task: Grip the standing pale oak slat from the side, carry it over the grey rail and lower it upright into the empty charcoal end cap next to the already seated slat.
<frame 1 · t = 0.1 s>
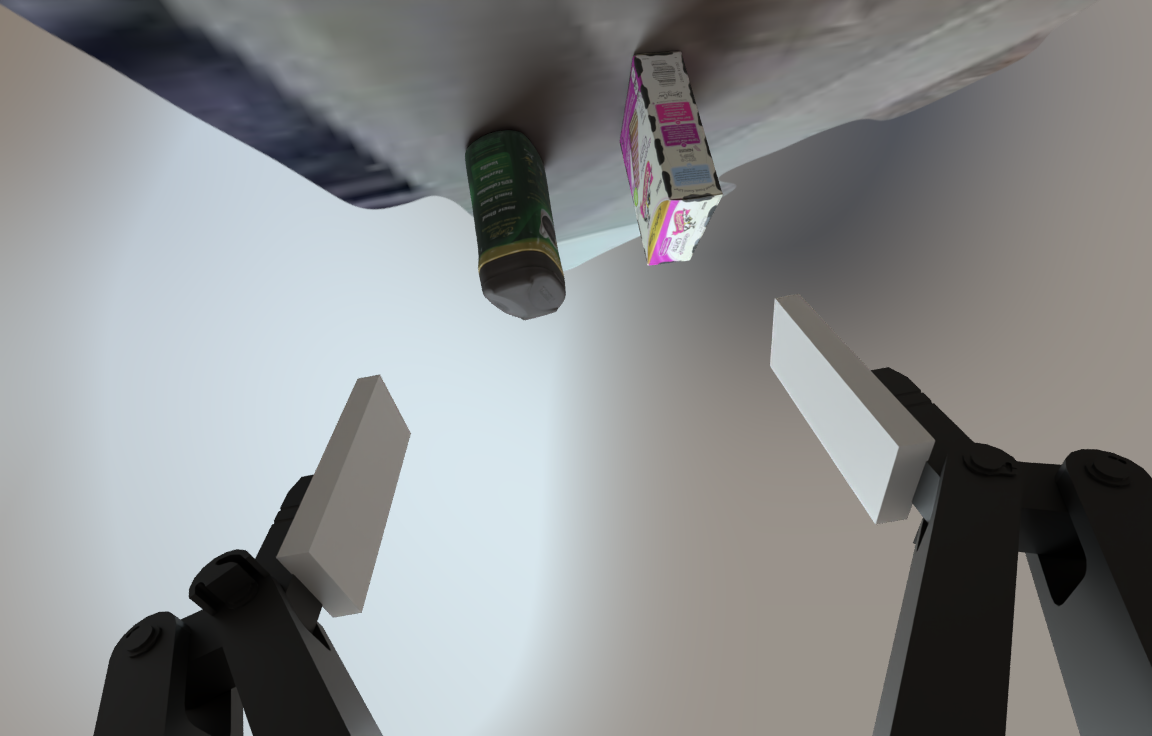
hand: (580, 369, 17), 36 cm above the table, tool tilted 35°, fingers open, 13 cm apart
candy bar box: (645, 98, 52), on the table
coffee jar: (504, 158, 56), on the table
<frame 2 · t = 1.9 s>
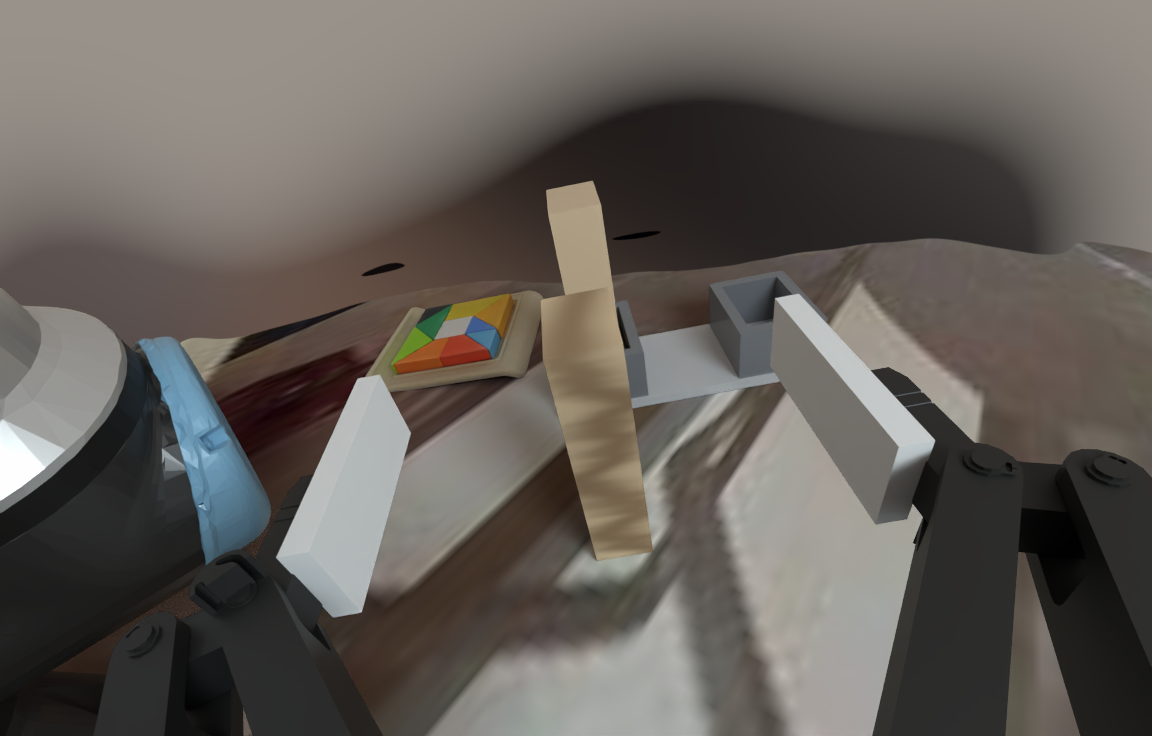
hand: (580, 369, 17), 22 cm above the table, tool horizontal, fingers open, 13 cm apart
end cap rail: (681, 365, 51), on the table
oak slat: (618, 520, 38), on the table
wooden puzzle: (464, 347, 62), on the table
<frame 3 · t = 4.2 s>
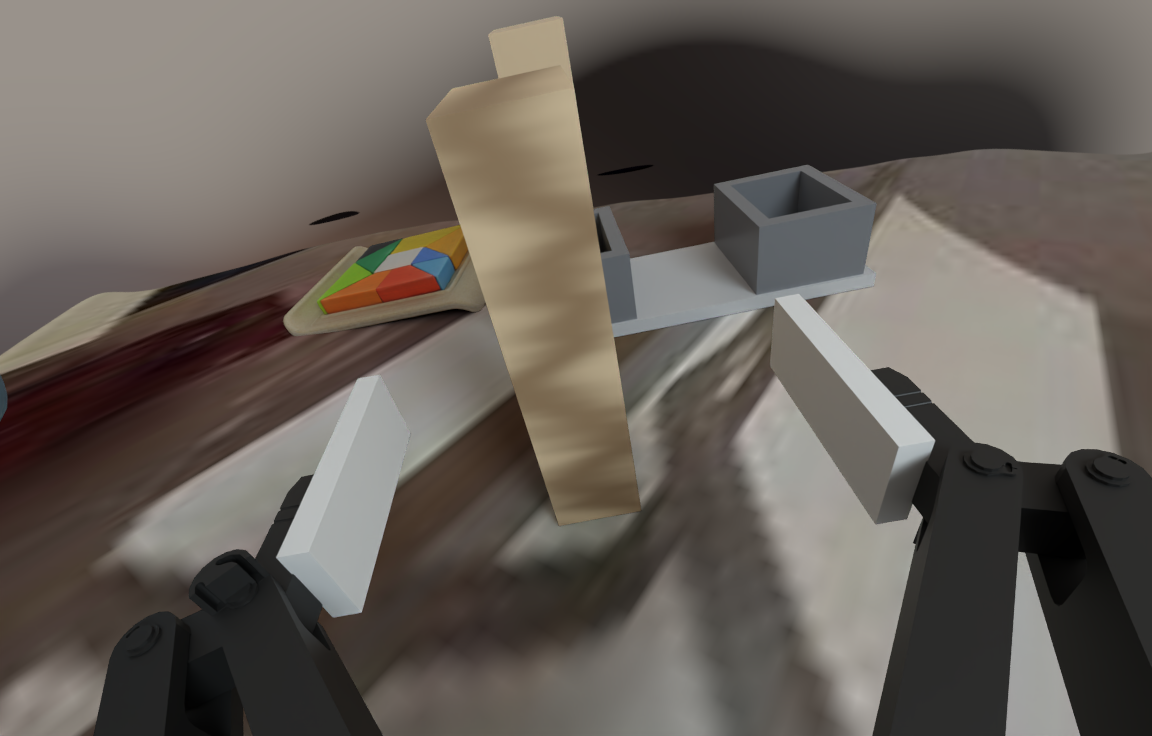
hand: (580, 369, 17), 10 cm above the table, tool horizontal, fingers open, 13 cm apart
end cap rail: (680, 288, 40), on the table
oak slat: (593, 471, 26), on the table
wooden puzzle: (414, 286, 51), on the table
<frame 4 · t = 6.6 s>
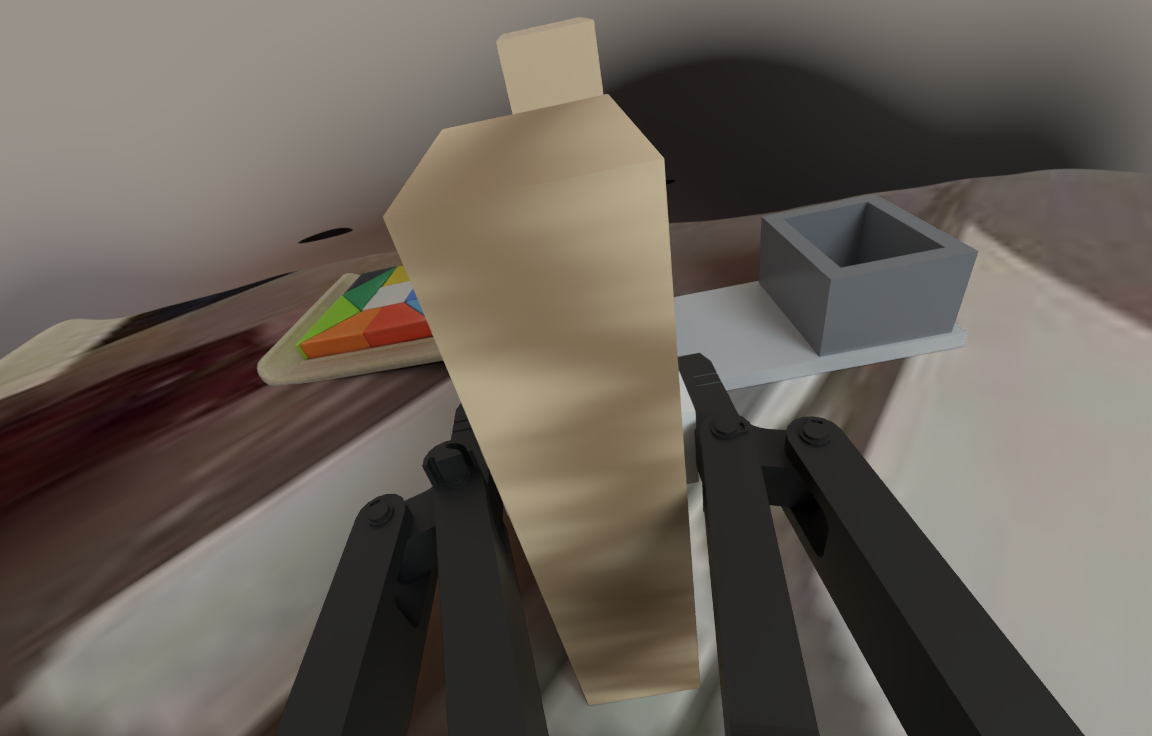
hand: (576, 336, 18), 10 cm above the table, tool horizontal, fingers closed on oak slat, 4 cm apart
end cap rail: (721, 340, 33), on the table
oak slat: (630, 613, 20), on the table, touching gripper
wooden puzzle: (409, 323, 45), on the table
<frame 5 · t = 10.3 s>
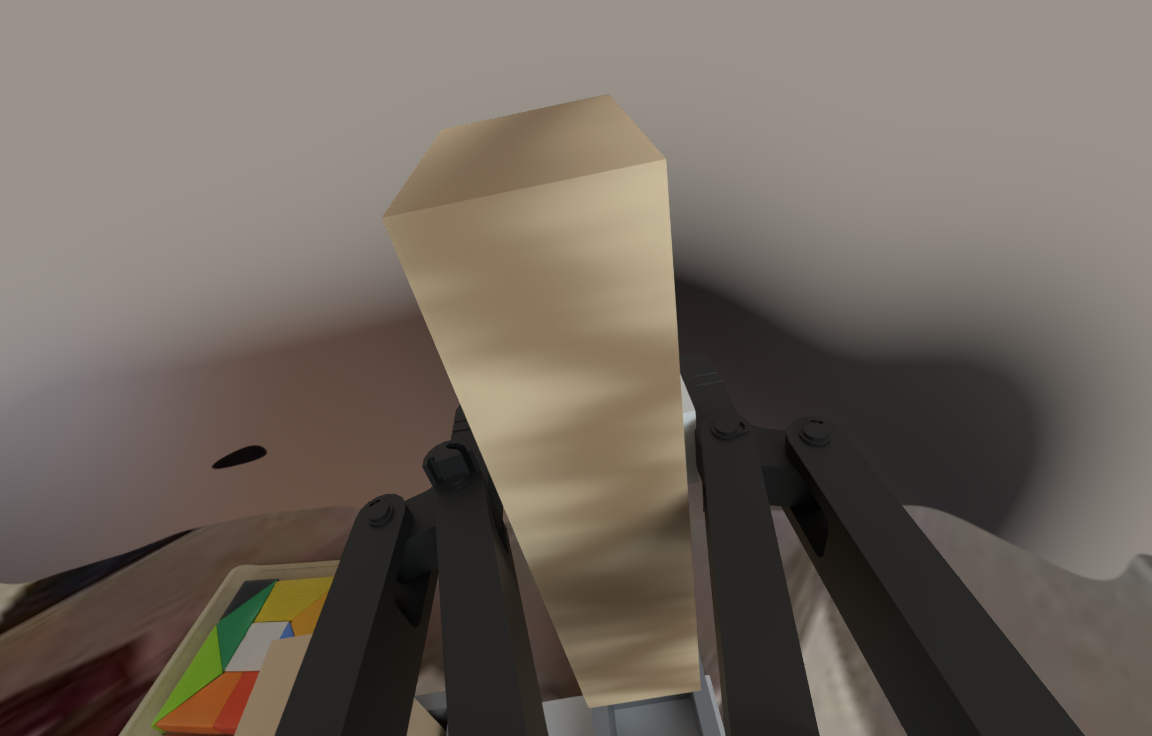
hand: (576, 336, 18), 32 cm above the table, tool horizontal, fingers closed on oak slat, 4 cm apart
oak slat: (630, 615, 20), point 22 cm above the table, touching gripper
wooden puzzle: (281, 659, 45), on the table
when the fingers open (12 cm above the table, at t = 14.2 s): oak slat drops 1 cm, resting on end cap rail.
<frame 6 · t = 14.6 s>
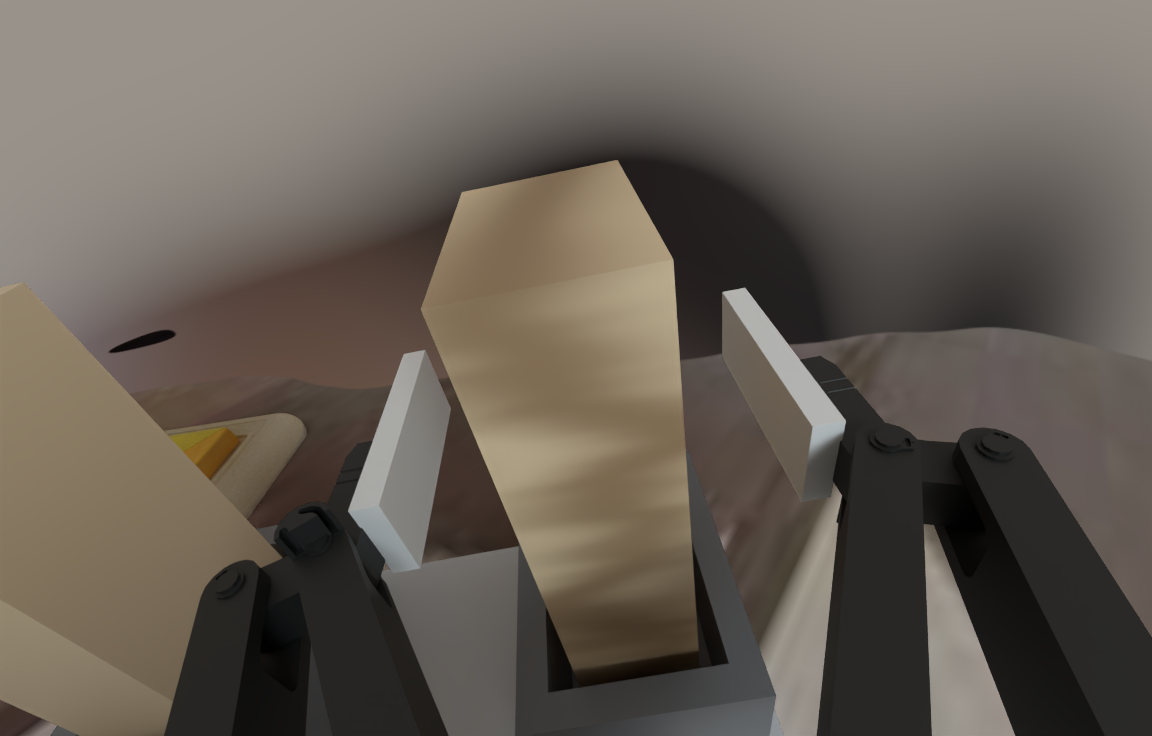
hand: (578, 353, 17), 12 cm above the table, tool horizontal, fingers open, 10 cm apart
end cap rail: (456, 670, 22), on the table
oak slat: (634, 632, 21), point 1 cm above the table, touching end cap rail
wooden puzzle: (130, 532, 33), on the table
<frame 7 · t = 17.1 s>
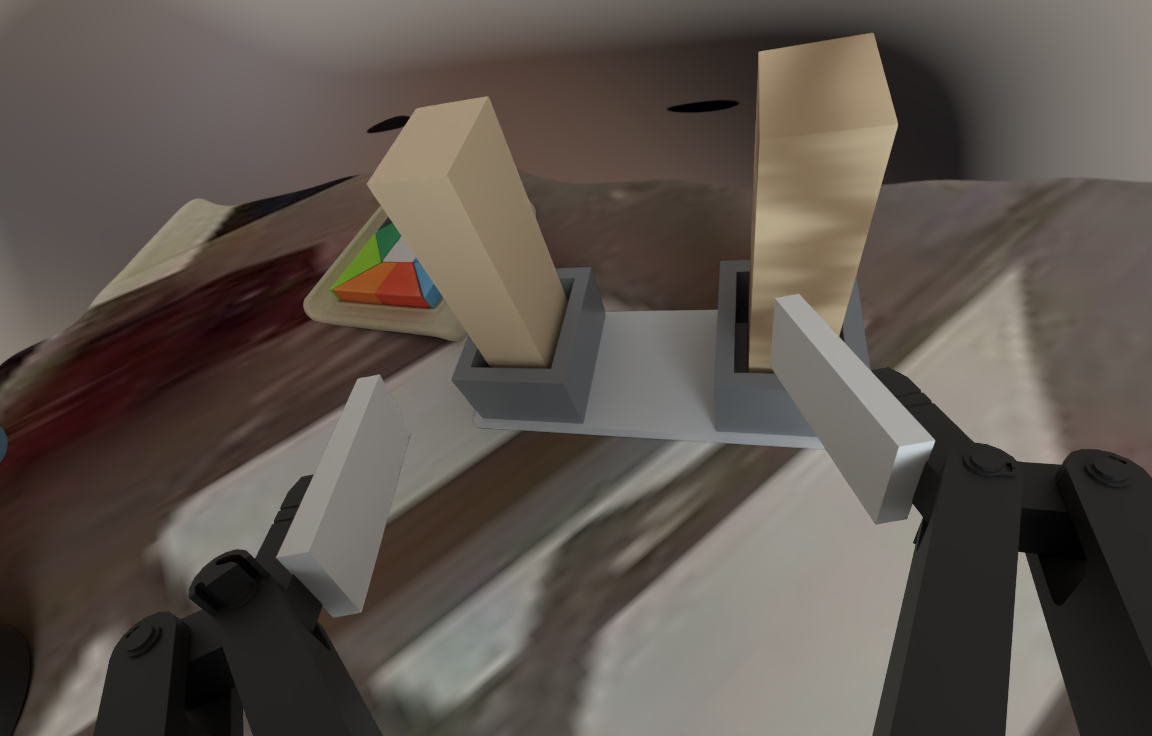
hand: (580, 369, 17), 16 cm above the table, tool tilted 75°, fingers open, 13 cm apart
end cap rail: (656, 374, 35), on the table
oak slat: (780, 369, 32), point 1 cm above the table, touching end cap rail
wooden puzzle: (427, 269, 50), on the table
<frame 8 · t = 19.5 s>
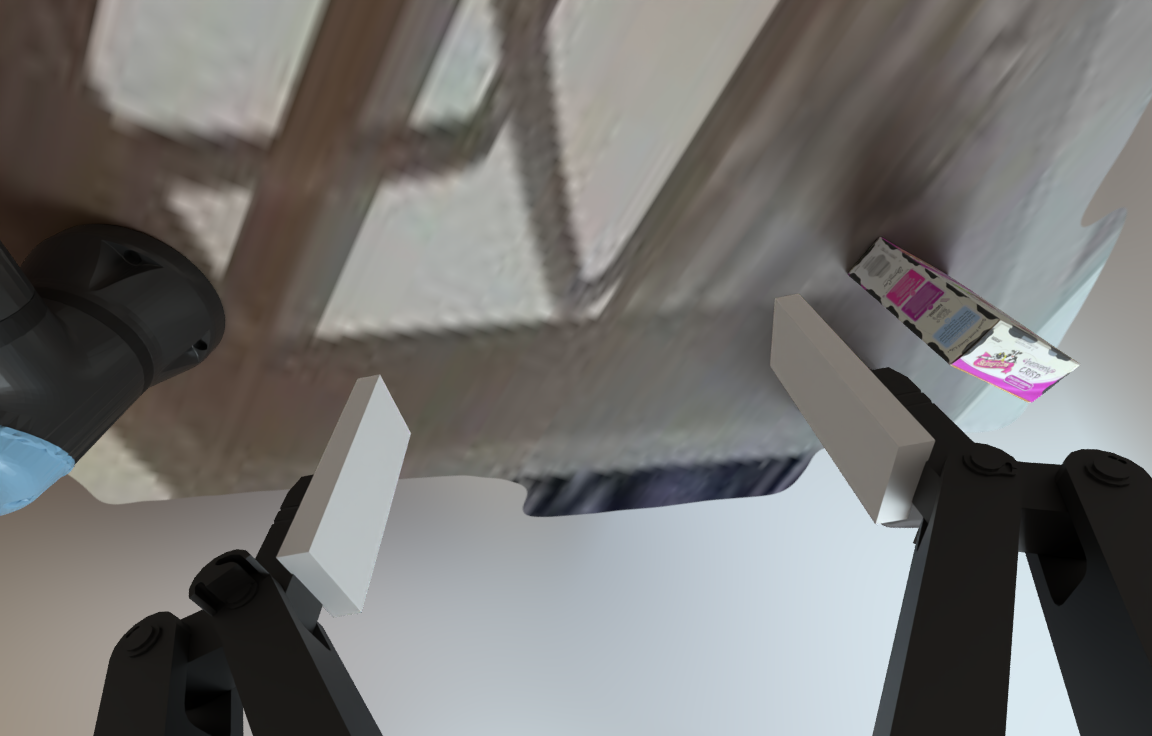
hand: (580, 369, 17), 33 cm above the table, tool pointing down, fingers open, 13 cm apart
candy bar box: (896, 275, 54), on the table
coffee jar: (838, 394, 63), on the table
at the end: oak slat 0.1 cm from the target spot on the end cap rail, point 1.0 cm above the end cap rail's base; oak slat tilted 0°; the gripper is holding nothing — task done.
